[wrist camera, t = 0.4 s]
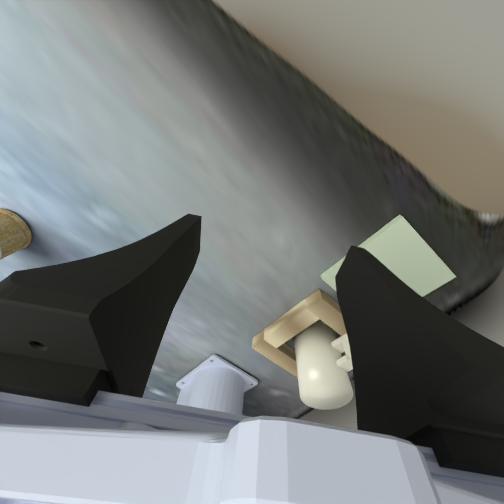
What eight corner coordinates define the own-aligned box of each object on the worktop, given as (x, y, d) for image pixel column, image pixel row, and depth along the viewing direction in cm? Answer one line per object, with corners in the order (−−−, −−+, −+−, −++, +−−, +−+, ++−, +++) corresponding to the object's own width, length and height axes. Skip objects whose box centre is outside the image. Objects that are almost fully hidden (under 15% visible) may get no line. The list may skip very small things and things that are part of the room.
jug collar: (310, 376, 33) (312, 387, 32) (253, 337, 30) (252, 347, 29) (378, 338, 29) (384, 349, 27) (319, 288, 26) (321, 298, 24)
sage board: (373, 320, 27) (375, 324, 27) (320, 275, 25) (321, 278, 24) (452, 273, 24) (456, 276, 23) (399, 214, 21) (402, 216, 21)
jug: (312, 356, 31) (323, 415, 25) (285, 337, 30) (289, 394, 24) (357, 329, 28) (381, 388, 22) (329, 306, 27) (347, 362, 21)
